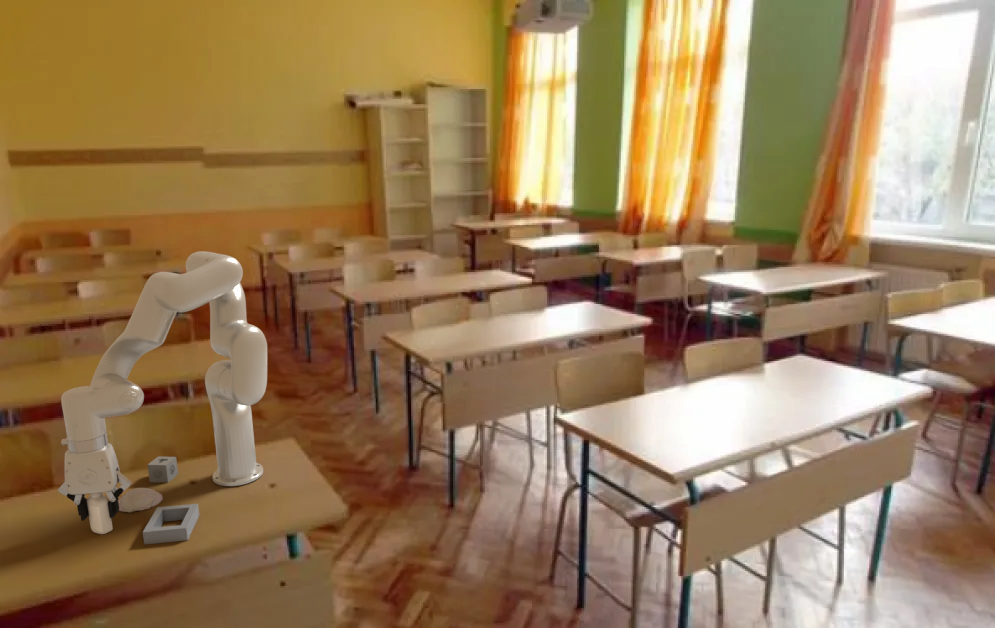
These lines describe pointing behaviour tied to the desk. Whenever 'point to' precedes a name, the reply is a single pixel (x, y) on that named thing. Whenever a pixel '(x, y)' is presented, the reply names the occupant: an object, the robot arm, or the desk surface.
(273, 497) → the desk surface
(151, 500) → the seashell
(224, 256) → the robot arm
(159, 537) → the bottle holder
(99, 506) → the eye dropper bottle
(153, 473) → the dice cube
